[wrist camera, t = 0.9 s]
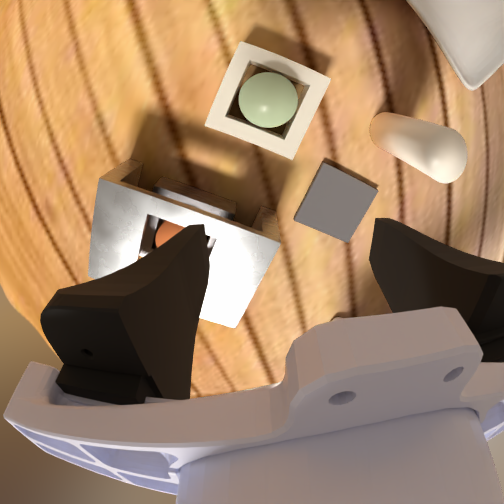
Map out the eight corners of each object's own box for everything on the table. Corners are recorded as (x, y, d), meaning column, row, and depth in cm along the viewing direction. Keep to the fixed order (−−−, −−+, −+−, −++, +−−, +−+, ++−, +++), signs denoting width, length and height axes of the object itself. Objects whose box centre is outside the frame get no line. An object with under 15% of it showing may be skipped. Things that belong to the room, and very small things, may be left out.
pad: (376, 189, 21) (378, 190, 21) (346, 240, 23) (347, 242, 23) (322, 161, 20) (323, 162, 20) (293, 218, 22) (294, 220, 22)
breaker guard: (275, 211, 22) (281, 243, 18) (238, 288, 26) (235, 328, 22) (129, 158, 20) (99, 178, 16) (112, 243, 24) (88, 276, 19)
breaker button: (212, 218, 21) (208, 230, 19) (199, 255, 23) (194, 269, 21) (169, 202, 20) (161, 214, 19) (158, 240, 22) (151, 254, 20)
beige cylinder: (409, 124, 18) (474, 147, 11) (393, 156, 20) (451, 192, 13) (379, 104, 18) (440, 116, 11) (362, 138, 19) (415, 166, 12)
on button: (301, 87, 16) (307, 86, 14) (281, 132, 18) (283, 136, 16) (252, 67, 16) (252, 63, 14) (232, 113, 17) (229, 115, 15)
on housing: (323, 80, 17) (331, 78, 15) (288, 153, 20) (292, 160, 18) (241, 46, 16) (240, 41, 14) (209, 122, 19) (204, 125, 17)
